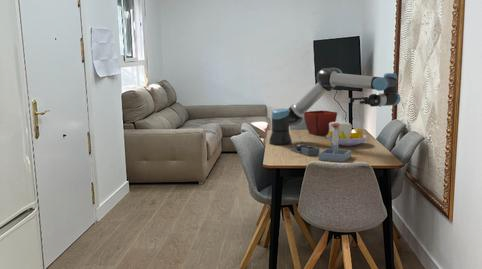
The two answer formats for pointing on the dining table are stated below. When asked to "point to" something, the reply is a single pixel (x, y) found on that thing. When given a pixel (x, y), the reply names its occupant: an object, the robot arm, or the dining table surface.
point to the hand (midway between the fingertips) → (347, 101)
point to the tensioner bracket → (305, 150)
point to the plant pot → (319, 121)
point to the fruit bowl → (349, 137)
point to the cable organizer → (342, 127)
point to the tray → (335, 155)
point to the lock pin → (335, 137)
